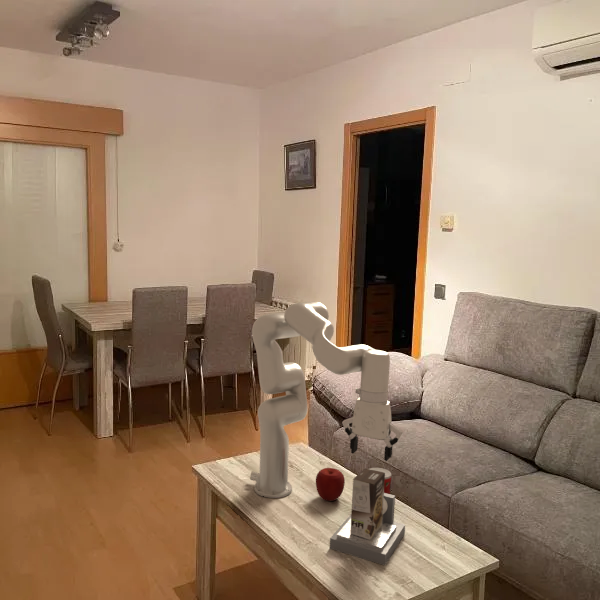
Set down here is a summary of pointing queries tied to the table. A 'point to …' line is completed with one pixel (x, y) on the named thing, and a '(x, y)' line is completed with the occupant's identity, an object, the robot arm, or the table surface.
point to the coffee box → (367, 503)
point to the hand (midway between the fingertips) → (370, 455)
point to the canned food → (387, 479)
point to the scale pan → (375, 543)
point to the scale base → (368, 552)
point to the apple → (330, 483)
